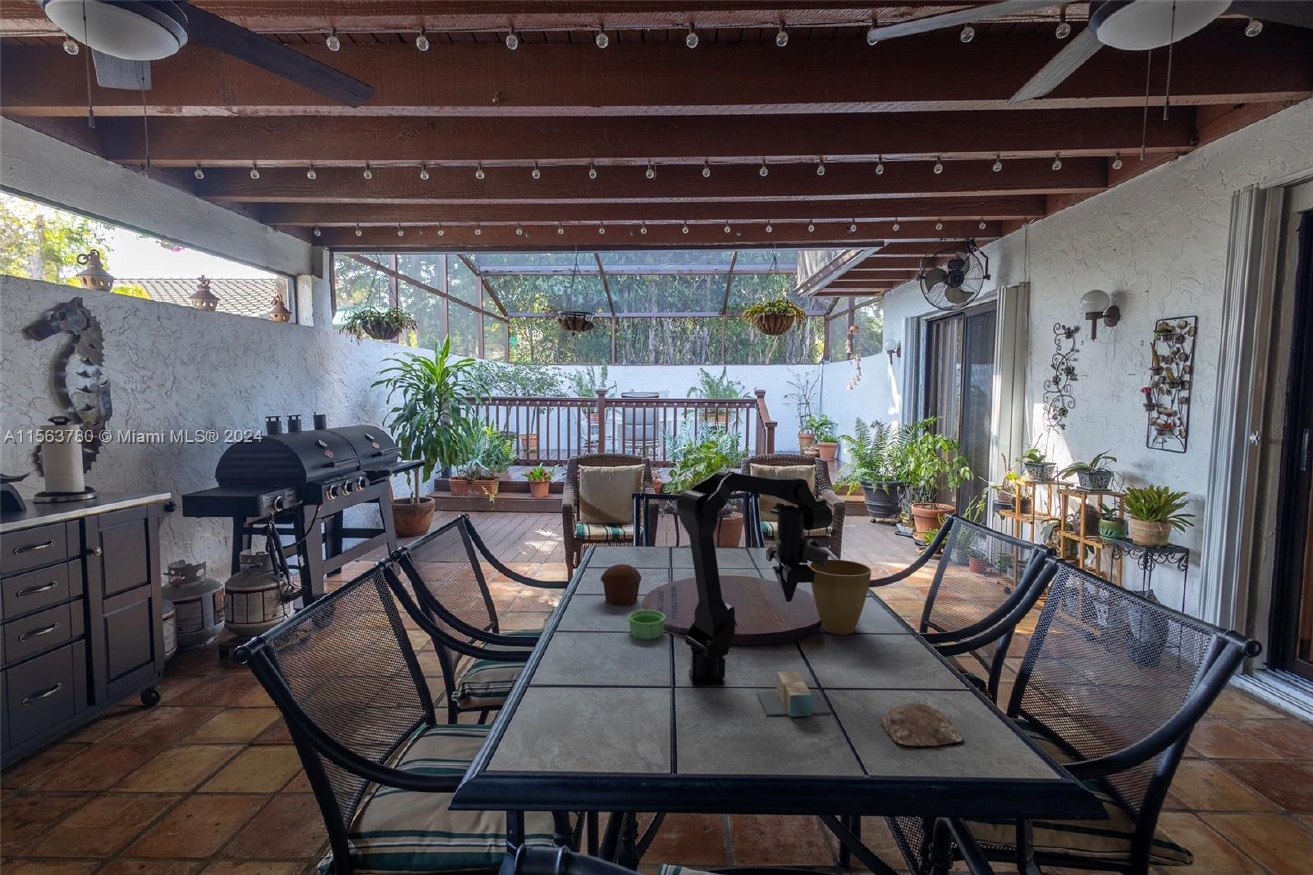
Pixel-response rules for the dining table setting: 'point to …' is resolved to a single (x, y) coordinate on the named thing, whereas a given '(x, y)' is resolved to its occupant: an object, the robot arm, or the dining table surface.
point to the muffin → (621, 585)
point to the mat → (776, 707)
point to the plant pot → (840, 594)
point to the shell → (920, 727)
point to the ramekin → (646, 624)
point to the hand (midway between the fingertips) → (788, 601)
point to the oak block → (794, 694)
